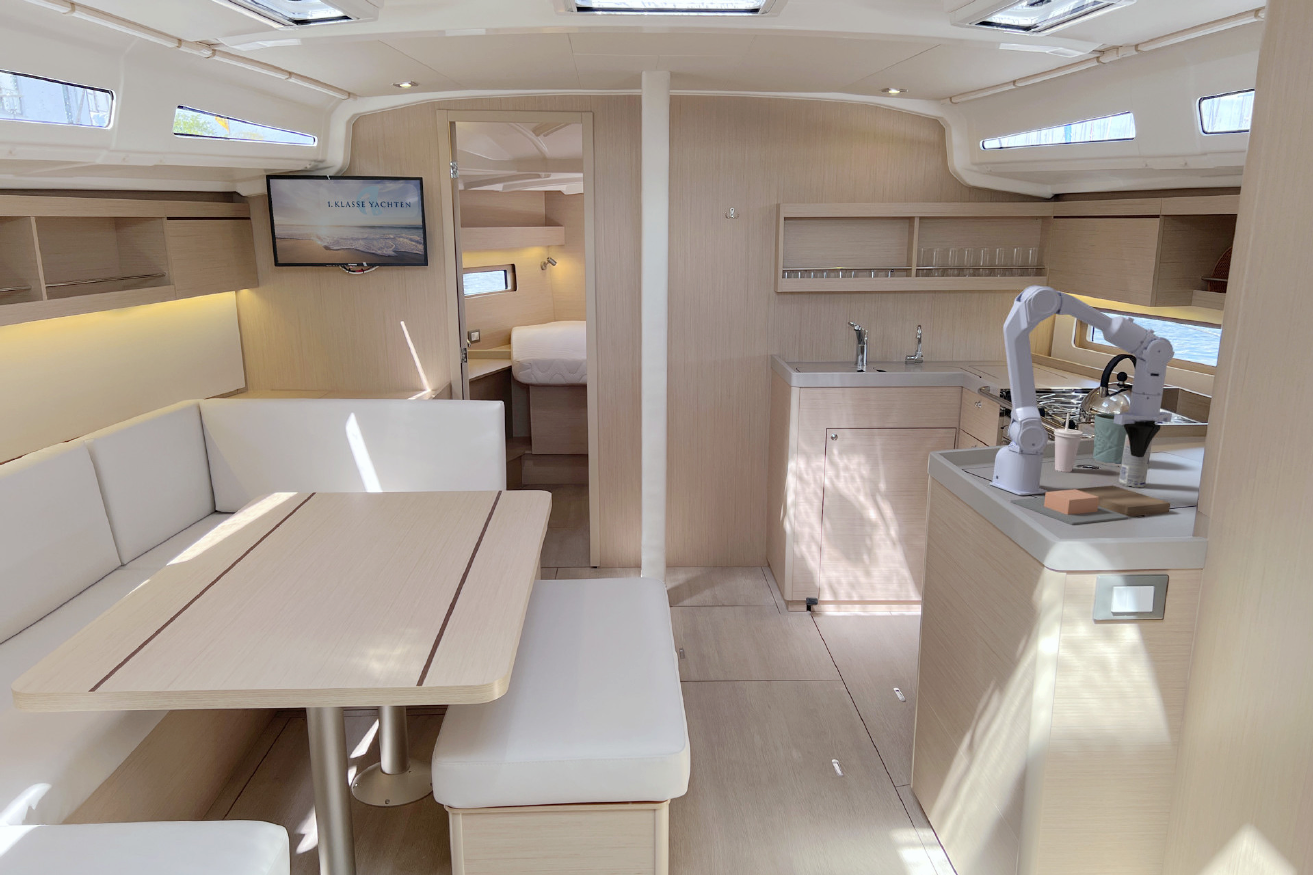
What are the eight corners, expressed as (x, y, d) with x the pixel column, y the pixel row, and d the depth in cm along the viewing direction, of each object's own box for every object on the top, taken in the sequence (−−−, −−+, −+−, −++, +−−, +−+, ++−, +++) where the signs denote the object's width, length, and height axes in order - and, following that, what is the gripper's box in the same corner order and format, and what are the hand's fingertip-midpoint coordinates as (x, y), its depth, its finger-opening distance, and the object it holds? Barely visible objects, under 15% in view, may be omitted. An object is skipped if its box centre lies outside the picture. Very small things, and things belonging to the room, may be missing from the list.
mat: (1010, 502, 184) (1011, 500, 184) (1065, 496, 190) (1065, 495, 190) (1072, 524, 170) (1072, 522, 170) (1129, 518, 175) (1129, 516, 175)
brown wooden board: (1070, 498, 189) (1071, 489, 189) (1111, 494, 194) (1112, 485, 193) (1126, 517, 176) (1127, 507, 176) (1169, 512, 181) (1170, 502, 180)
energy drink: (1142, 483, 204) (1150, 432, 202) (1146, 489, 199) (1155, 437, 197) (1116, 480, 206) (1124, 430, 203) (1120, 486, 201) (1128, 434, 198)
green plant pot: (1142, 466, 222) (1149, 419, 219) (1115, 469, 217) (1122, 421, 215) (1106, 457, 231) (1113, 411, 228) (1079, 460, 226) (1086, 413, 224)
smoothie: (1046, 466, 218) (1053, 410, 215) (1074, 468, 217) (1082, 412, 214) (1052, 472, 212) (1060, 414, 209) (1080, 474, 210) (1089, 416, 208)
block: (1043, 506, 180) (1045, 492, 180) (1073, 503, 183) (1075, 489, 183) (1067, 514, 175) (1069, 500, 174) (1097, 511, 178) (1099, 497, 177)
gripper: (1138, 397, 179) (1128, 462, 182) (1188, 395, 185) (1178, 458, 187) (1109, 391, 185) (1100, 454, 188) (1158, 389, 191) (1149, 451, 194)
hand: (1137, 456), depth 188 cm, fingers closed
